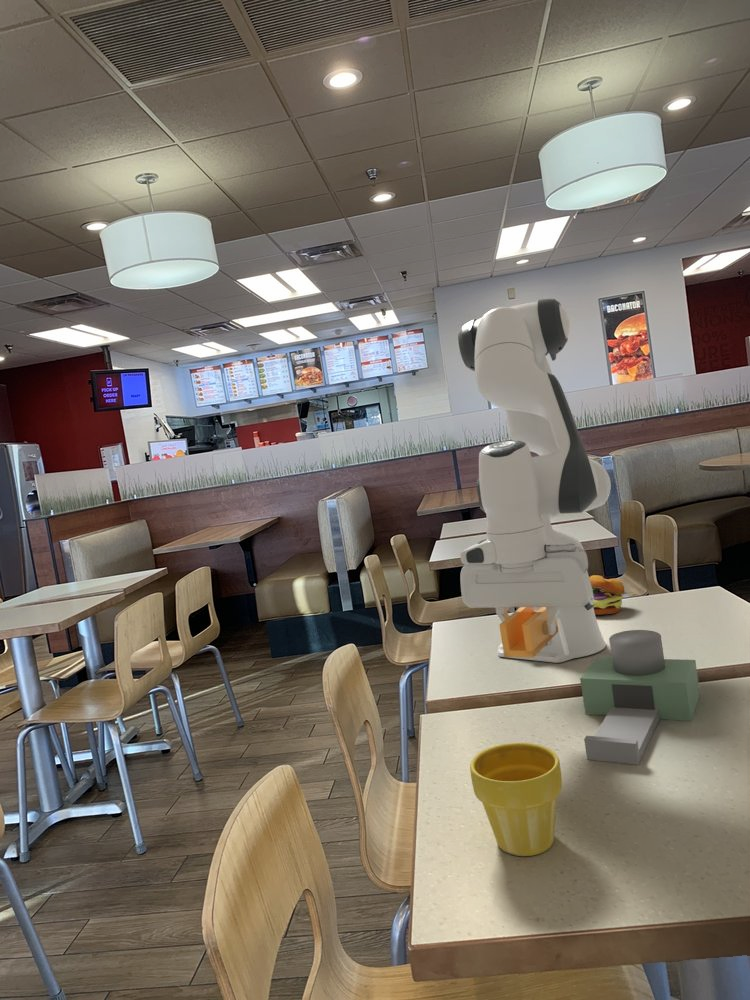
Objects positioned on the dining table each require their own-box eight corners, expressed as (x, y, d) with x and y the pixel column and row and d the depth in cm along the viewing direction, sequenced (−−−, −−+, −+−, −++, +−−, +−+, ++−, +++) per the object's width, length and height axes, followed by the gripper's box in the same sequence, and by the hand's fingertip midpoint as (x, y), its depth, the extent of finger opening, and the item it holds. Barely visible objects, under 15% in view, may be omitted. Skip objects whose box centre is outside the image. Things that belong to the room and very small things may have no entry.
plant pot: (550, 808, 88) (538, 734, 87) (586, 853, 78) (573, 769, 77) (471, 827, 86) (459, 752, 86) (498, 876, 76) (484, 791, 76)
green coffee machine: (556, 756, 101) (545, 683, 100) (601, 690, 122) (592, 629, 121) (673, 768, 92) (662, 688, 92) (700, 695, 113) (691, 630, 113)
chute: (504, 656, 105) (499, 624, 104) (531, 631, 115) (526, 601, 114) (533, 657, 102) (528, 624, 102) (558, 631, 112) (554, 601, 112)
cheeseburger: (569, 613, 172) (571, 573, 173) (603, 613, 177) (605, 574, 177) (597, 619, 163) (599, 576, 163) (632, 619, 167) (634, 577, 168)
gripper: (591, 538, 104) (603, 627, 105) (467, 545, 115) (479, 626, 116) (579, 547, 99) (592, 641, 100) (450, 554, 110) (464, 638, 111)
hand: (530, 633), depth 108 cm, fingers closed on chute, 5 cm apart
